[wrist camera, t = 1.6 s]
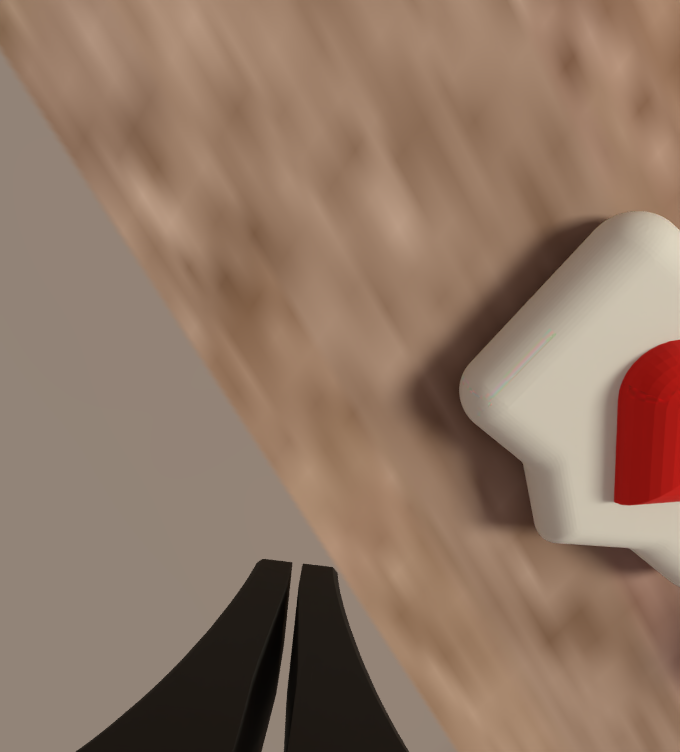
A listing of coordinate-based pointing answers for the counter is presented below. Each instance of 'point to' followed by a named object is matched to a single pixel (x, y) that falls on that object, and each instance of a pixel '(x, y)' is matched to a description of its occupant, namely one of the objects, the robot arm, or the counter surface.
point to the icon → (595, 392)
